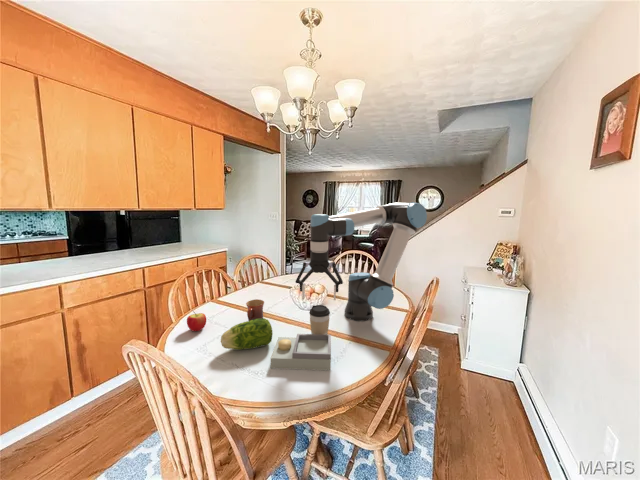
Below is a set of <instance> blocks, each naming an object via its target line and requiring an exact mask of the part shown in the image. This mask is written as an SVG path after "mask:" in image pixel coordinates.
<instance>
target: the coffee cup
mask: <svg viewBox="0 0 640 480" xmlns="http://www.w3.org/2000/svg"><path fill="white" fill-rule="evenodd" d="M308 314H309V321H310V322H309V323H310V332H311V333H310V334H321V335H329V334H328V332H329V324H330V314H331V312H330V309H329V308H328V306H326V305H324V304H323V305H322V304H317V305H315V304H314V305H313V306H312V307H311V308H310V309H309V313H308Z"/></svg>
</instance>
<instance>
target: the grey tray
mask: <svg viewBox="0 0 640 480" xmlns="http://www.w3.org/2000/svg"><path fill="white" fill-rule="evenodd" d="M331 354H332V335H331V334H327V335H321V334H311V333H307V334H306V333H297V334H296V337H291V336H289V337H286V336H285V337H284V336H283V337H282V336H279V337H277V339H276V342H275V346H274V348H273V350H272V353H271V357H270V369H280V370H282V369H286V370H287V369H288V370H308V371H309V370H310V371H311V370H314V371H332V370H331V367H332V360H331V359H332V355H331Z"/></svg>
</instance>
